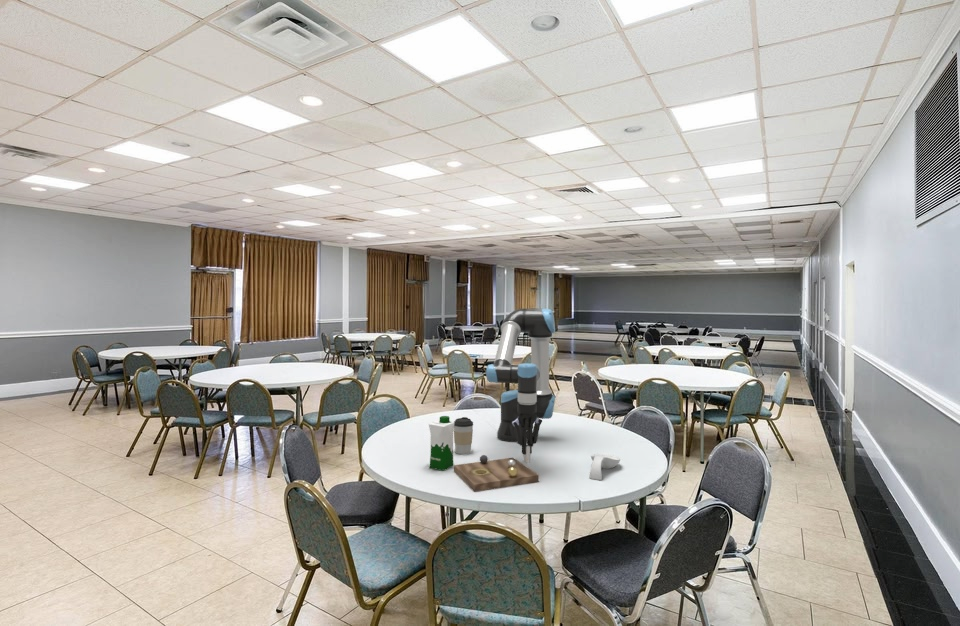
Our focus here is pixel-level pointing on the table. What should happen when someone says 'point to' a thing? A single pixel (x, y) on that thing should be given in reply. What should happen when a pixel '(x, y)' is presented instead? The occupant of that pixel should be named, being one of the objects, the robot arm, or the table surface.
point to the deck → (494, 474)
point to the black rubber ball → (483, 459)
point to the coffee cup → (463, 435)
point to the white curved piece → (602, 464)
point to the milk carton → (441, 443)
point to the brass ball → (512, 471)
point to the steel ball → (511, 463)
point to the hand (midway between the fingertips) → (526, 462)
